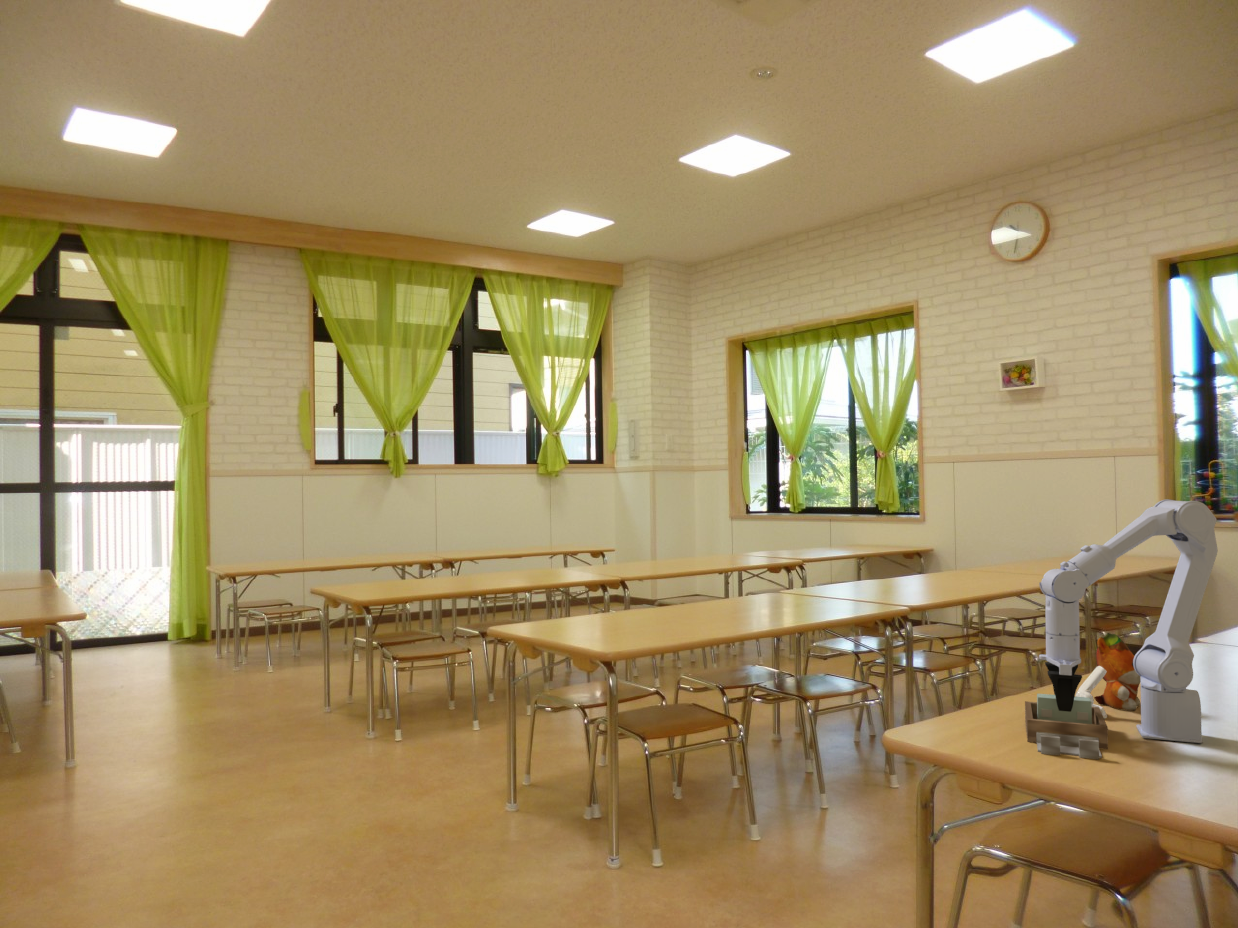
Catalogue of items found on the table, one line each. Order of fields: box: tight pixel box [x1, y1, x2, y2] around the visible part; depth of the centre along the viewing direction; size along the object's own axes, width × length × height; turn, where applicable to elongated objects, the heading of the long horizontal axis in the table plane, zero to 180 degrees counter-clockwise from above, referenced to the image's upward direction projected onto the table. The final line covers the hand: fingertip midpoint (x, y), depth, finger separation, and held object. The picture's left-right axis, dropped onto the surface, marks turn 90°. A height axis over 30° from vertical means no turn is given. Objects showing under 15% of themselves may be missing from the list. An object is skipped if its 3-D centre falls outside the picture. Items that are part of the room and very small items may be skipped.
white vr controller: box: [1075, 665, 1108, 720], centre depth 180 cm, size 8×12×7 cm
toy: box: [1093, 632, 1141, 712], centre depth 187 cm, size 11×9×15 cm
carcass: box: [1024, 700, 1109, 760], centre depth 163 cm, size 13×21×4 cm, turn 157°
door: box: [1036, 693, 1092, 724], centre depth 166 cm, size 9×3×6 cm, turn 67°
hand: (1063, 705), depth 167 cm, fingers open, 7 cm apart
